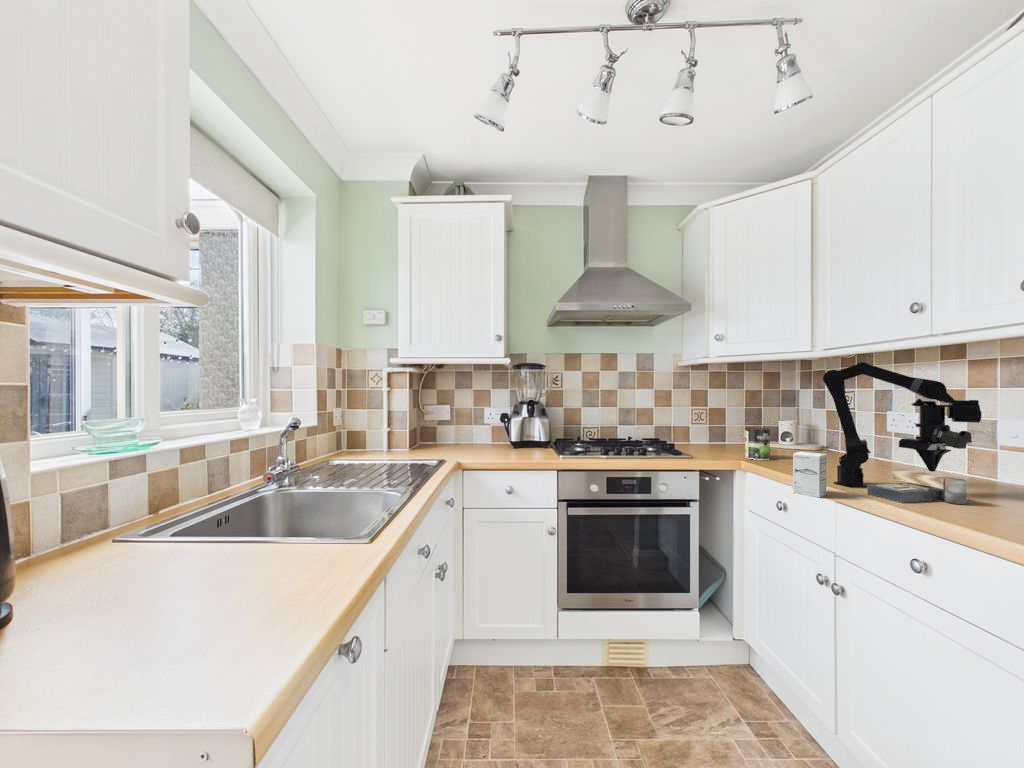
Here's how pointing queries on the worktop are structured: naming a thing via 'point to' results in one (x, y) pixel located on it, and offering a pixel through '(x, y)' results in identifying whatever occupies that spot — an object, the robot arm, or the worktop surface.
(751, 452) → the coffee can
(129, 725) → the worktop surface
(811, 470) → the supplement box
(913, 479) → the notched beige block
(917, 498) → the slab
